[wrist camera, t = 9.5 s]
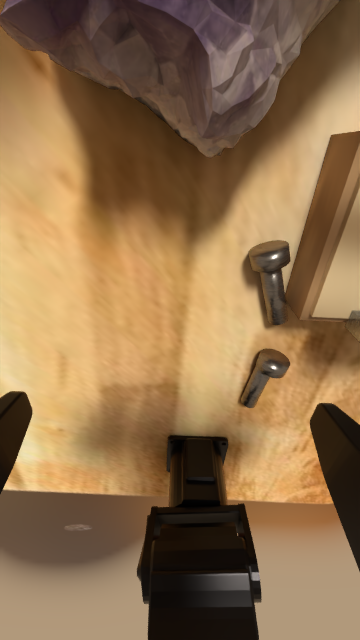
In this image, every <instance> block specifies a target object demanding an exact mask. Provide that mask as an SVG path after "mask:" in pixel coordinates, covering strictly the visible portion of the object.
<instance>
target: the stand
mask: <svg viewBox="0 0 360 640" xmlns="http://www.w3.org/2000/svg"><path fill="white" fill-rule="evenodd" d="M285 300H286V302H287V303H288V305H289V306H290V307H291V309H292V310H293V312H294V313H295V314H296V316H297V317H298V319H299V320H311V321H333V322H347V321H348V318H349V316H350V314H351V312H352V310H356V311H360V131H356V132H349V133H342V134H335V135H331V139H330V142H329V145H328V149H327V152H326V156H325V159H324V163H323V166H322V170H321V173H320V177H319V180H318V184H317V187H316V190H315V194H314V197H313V201H312V204H311V208H310V211H309V215H308V218H307V222H306V225H305V229H304V232H303V235H302V239H301V242H300V246H299V249H298V253H297V256H296V260H295V263H294V267H293V270H292V274H291V277H290V280H289V284H288V287H287V291H286V294H285Z"/></svg>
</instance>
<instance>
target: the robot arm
mask: <svg viewBox="0 0 360 640" xmlns="http://www.w3.org/2000/svg"><path fill="white" fill-rule="evenodd" d="M31 417H32V407H31V405H30V402H29V399H28V397H27V394H26V393H25V392H21V391H11V392H9V393H7V394H5V395H4V396H2V397H1V398H0V494H1V492H2V490H3V488H4V486H5V483H6V481H7V479H8V477H9V475H10V473H11V471H12V469H13V466H14V464H15V461H16V459H17V456H18V453H19V450H20V448H21V445H22V442H23V439H24V437H25V434H26V431H27V428H28V426H29V423H30V420H31ZM310 428H311V432H312V435H313V439H314V443H315V446H316V450H317V454H318V457H319V461H320V465H321V469H322V472H323V475H324V478H325V481H326V484H327V487H328V489H329V492H330V495H331V497H332V500H333V502H334V505H335V508H336V510H337V513H338V516H339V518H340V521H341V523H342V526H343V529H344V531H345V534H346V537H347V539H348V542H349V544H350V547H351V550H352V552H353V555H354V558H355V560H356V563H357V565H358V568H359V571H360V425H359V424H358V423H357V422H355V421H354V420H353V419H352V418H351V417H349V416H348V415H347V414H346V413H344V412H343V411H342V410H341V409H339V408H338V407H337V406H336V405H334V404H331V403H319V404H318V405H317V407H316V409H315V411H314V413H313V415H312V417H311V419H310ZM227 448H228V439H227V438H220V437H193V436H169V437H168V447H167V472H170V488H169V507H157V506H154V507H152V508H151V514H150V515H148V516H147V526H146V534H145V541H144V544H143V548H142V552H141V556H140V560H139V564H138V568H137V576H138V578H139V580H140V581H141V586H142V596H143V602H144V604H149V617H148V640H259V635H258V627H257V621H256V612H255V605H254V603H256V602H257V603H258V602H261V586H260V577H259V570H258V564H257V559H256V554H255V549H254V544H253V541H252V536H251V531H250V527H249V523H248V518H247V514H246V510H245V505H244V503H243V504H238V505H228V502H227V494H226V486H225V479H224V471H223V464H224V460H225V456H226V452H227ZM237 533H238V536H237Z"/></svg>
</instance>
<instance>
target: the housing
mask: <svg viewBox="0 0 360 640" xmlns="http://www.w3.org/2000/svg"><path fill="white" fill-rule="evenodd" d="M345 327H346V328H347V329H348V331H349V332H350V333H351V334H352V335H353V336H354V337H355V338H356V339H357V340H358V341H359V342H360V311H356V310H352V312H351V314H350V316H349V318H348V321H347V323H346V325H345Z"/></svg>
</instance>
